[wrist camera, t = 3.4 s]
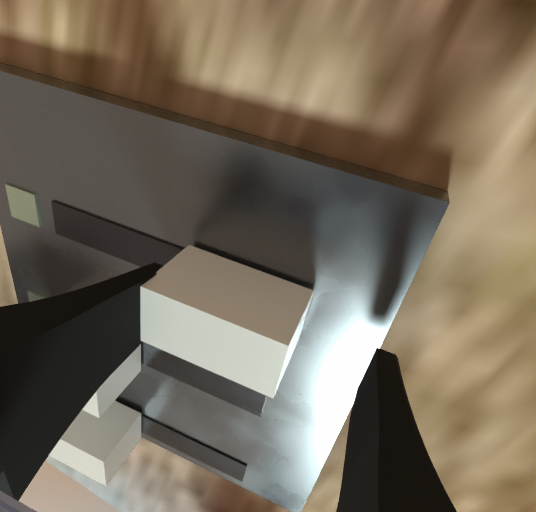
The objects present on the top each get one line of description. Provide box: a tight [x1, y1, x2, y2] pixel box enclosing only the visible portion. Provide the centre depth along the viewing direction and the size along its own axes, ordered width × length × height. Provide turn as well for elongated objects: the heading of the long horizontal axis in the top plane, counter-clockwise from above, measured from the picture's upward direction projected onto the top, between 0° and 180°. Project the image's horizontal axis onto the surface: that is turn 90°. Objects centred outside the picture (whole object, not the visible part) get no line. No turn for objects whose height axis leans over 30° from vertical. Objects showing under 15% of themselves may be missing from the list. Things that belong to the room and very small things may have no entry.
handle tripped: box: [140, 245, 314, 398], centre depth 13 cm, size 5×2×3 cm, turn 79°
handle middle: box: [82, 344, 141, 418], centre depth 18 cm, size 5×2×3 cm, turn 79°
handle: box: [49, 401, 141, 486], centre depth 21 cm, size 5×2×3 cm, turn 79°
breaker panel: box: [0, 63, 449, 512], centre depth 18 cm, size 18×19×1 cm
